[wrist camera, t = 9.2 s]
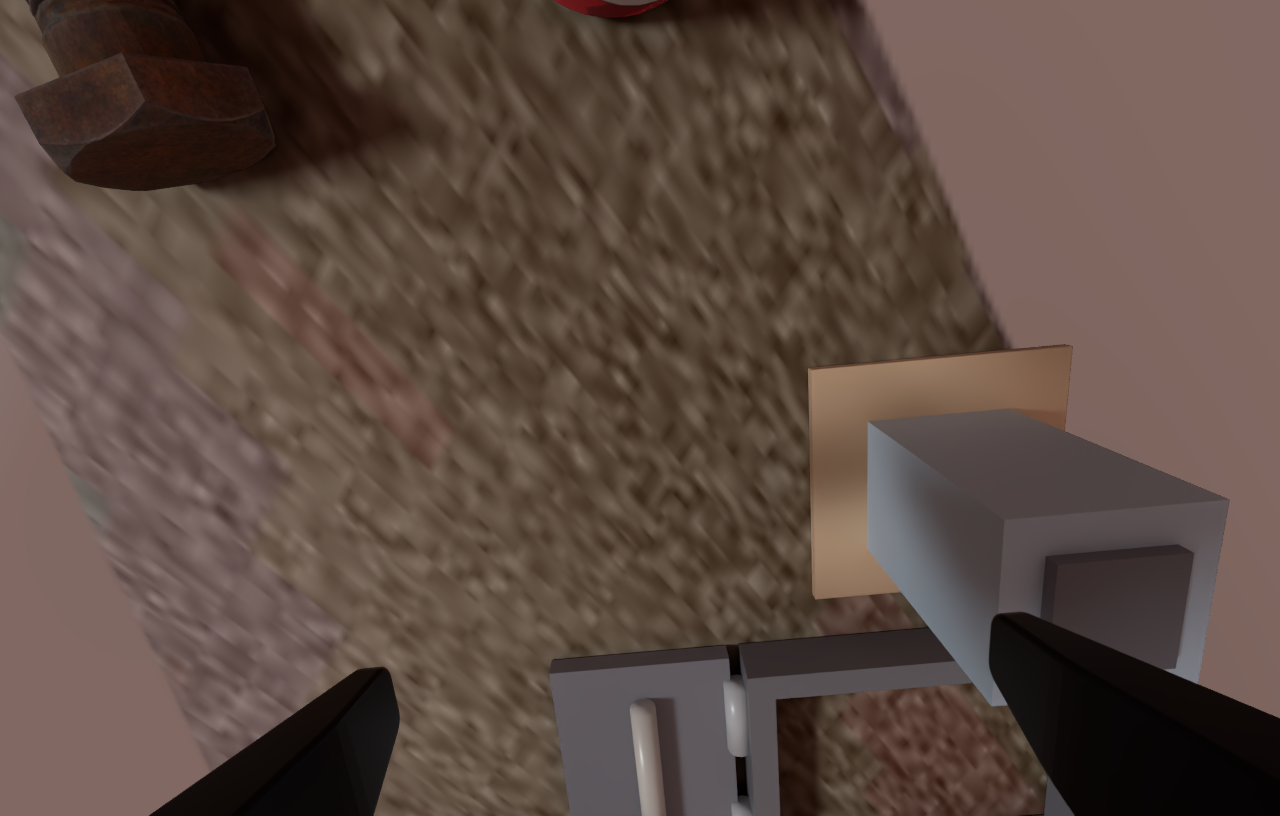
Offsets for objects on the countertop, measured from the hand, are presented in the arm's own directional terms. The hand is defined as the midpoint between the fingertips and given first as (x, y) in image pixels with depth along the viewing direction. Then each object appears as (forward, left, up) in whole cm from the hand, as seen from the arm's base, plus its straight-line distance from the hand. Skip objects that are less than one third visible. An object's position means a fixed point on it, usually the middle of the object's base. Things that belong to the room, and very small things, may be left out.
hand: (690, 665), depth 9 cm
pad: (-3, -10, -13) cm, 17 cm away
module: (-3, -10, -13) cm, 16 cm away
